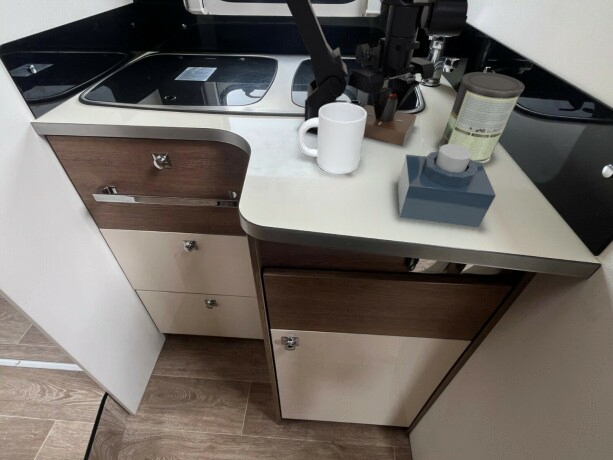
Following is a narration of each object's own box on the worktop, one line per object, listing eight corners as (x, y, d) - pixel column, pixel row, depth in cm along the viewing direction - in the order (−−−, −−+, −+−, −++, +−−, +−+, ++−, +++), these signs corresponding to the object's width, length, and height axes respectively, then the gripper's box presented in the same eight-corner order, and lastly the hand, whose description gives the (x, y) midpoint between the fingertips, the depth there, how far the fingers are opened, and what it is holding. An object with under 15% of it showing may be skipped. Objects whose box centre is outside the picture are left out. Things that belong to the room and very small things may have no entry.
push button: (437, 171, 46) (442, 157, 44) (433, 156, 49) (438, 142, 48) (468, 174, 46) (474, 160, 44) (463, 159, 49) (468, 145, 47)
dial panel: (349, 133, 71) (351, 119, 69) (364, 116, 77) (366, 104, 75) (402, 146, 67) (405, 132, 65) (413, 127, 73) (416, 114, 71)
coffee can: (428, 143, 68) (450, 73, 58) (468, 137, 70) (495, 69, 61) (459, 168, 61) (489, 94, 51) (502, 161, 63) (539, 88, 54)
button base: (399, 217, 50) (412, 174, 45) (397, 185, 57) (408, 144, 51) (478, 227, 49) (501, 184, 43) (467, 193, 55) (486, 152, 50)
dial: (384, 123, 68) (388, 100, 65) (371, 116, 70) (375, 94, 67) (397, 119, 70) (402, 97, 66) (385, 112, 72) (389, 90, 69)
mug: (296, 174, 58) (295, 120, 51) (297, 151, 64) (298, 101, 57) (361, 176, 58) (369, 123, 51) (356, 153, 64) (364, 102, 57)
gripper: (404, 21, 68) (390, 95, 78) (335, 30, 60) (329, 111, 71) (447, 32, 61) (424, 111, 72) (374, 44, 53) (361, 131, 64)
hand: (385, 115), depth 70 cm, fingers closed on dial, 4 cm apart
